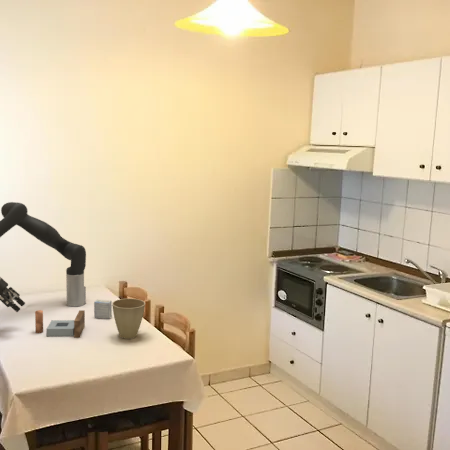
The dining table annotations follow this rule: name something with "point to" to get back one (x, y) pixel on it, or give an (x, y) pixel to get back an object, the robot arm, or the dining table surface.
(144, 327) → the dining table surface
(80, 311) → the backstop wall
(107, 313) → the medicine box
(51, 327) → the pocket block
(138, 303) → the plant pot
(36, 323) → the dowel
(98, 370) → the dining table surface
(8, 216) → the robot arm
